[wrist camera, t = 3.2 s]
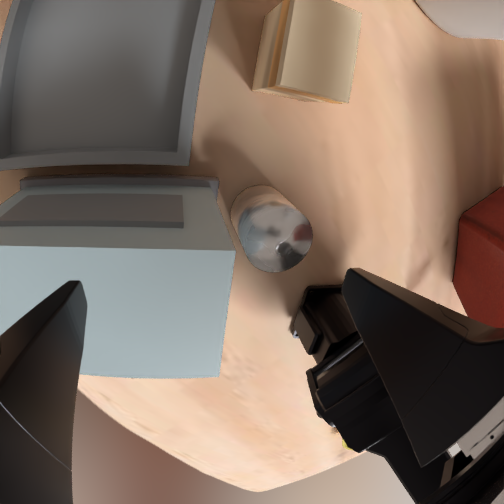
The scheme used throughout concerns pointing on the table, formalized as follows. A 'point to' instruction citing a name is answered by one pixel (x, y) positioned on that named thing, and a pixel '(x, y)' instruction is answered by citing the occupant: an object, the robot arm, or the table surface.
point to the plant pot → (482, 261)
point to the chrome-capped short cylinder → (270, 229)
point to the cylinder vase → (467, 17)
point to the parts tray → (100, 81)
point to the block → (308, 51)
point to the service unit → (124, 267)
